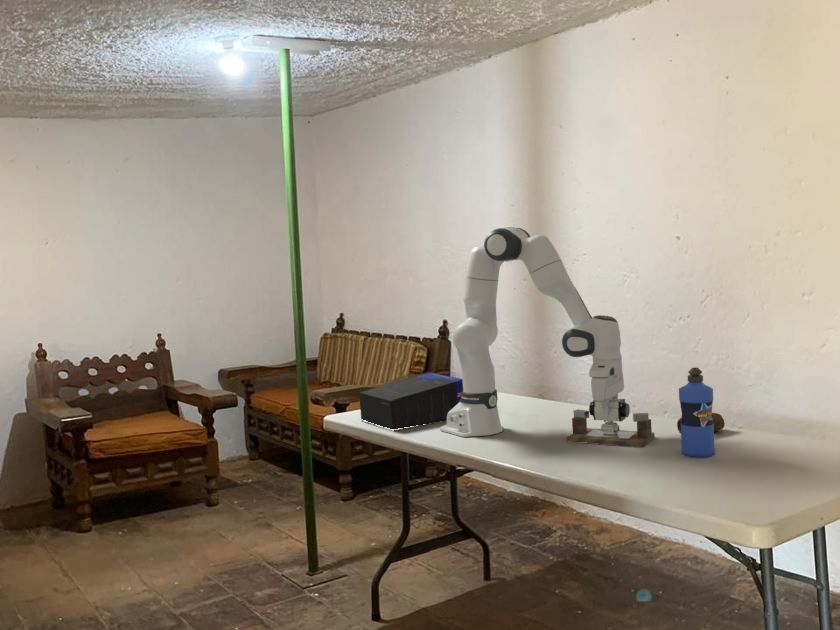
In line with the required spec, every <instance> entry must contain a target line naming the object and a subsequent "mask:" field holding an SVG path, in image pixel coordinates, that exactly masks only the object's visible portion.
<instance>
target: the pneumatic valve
mask: <svg viewBox="0 0 840 630" xmlns="http://www.w3.org/2000/svg"><path fill="white" fill-rule="evenodd" d="M608 405H609V407H610V412H609V413H608V414H606V413H603V408H602V405H601V402H595V401H594V400H592V401H591V402H589V407H588V408H589V410H588V411H589V416H592V417H593V420H594V421H603V422H604V423H603V424H601V427H600V429H601V431H602V432H603V434H606V435H615V434H616V433H618V432H619V430H620V426H619V424H618V422H620V423H621V422H622V421H624V420H626V418H628V417H630V411H631V407H630V405H629V403H627V401H626V399H624V398H618V399H612V398H610V399H609V402H608Z"/></svg>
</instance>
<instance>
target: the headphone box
mask: <svg viewBox="0 0 840 630" xmlns="http://www.w3.org/2000/svg"><path fill="white" fill-rule="evenodd" d="M461 392H463V380H462V378H459V377H454V376H450V375H449V376H448V375H444V374H438V373H433V372H428V373H425V374H424V373H423V374H421V375H418V376H414V377H410V378H406V379H402V380H400V381H396V382H392V383H388V384H386V385H381V386H379V387H373V388H371V389H366V390H364V391H359V393H358V394H359V395H358V397H359V408H360V420H361V419H363V420H366V421H368V422H371V423H374V424H377V425H380V426H383V427H387V428H390V429H398V428H404V427H410V426H416V425H423V424H427V425H430V424H429V423H432V424H435V423H434V422H437V423H441V422H440V421H442V422H445V421H446V422H447V414H448V412H449V411H450V410H451V409H453V408H454V407H455V406H456V405H457V404H458V403H459V402H460V398H461V396H459V397H458V395H460V394H458V393H461ZM423 426H424V425H423Z"/></svg>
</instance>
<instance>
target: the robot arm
mask: <svg viewBox="0 0 840 630" xmlns="http://www.w3.org/2000/svg"><path fill="white" fill-rule="evenodd" d="M518 260H520V261H522V263H523V264H524V265H525V267H526V269H527V271H528V274H529V276H530V278H531V281H532V282H533V284H534V285H535V287H536V289H537V290H538V291H539V292H540V294H543V295H545V296H548V297H551V298H553V299H554V300H556V301H558V302H559V303H560V304H561V305H562V307H563V308H564V309H565V312H566V313H567V315H568V317H569V319H570V321H571V323H572V324H573V327H572V328H570V329H568V330H566V331H565V332H564V334H563V335H562V339H561V346H562V349H563V351H564V352H565V354H567V355H568V356H570V357H573V358H582V357H586V356H592V365H591V367H590V369H589V371H588V374H589V378H591V380H590V385H591V386H590V387H591V395H592V399H593V400H594V401H595V402H601V405H602V408H603V413H606V414H608V413H609V412H610V407H609V405H608V402H609V399H610V398H612V399H619V393H621V392H623V391H624V389H625V381H624V374H623V373H624V372H623V361H622V360H623V358H622V354H621V344H622V342H621V339H622V338H621V331H620V330H621V329H620V326H619V323H618V320H617V319H616V318H614V317H613V316H609V315H598V314H597V315H594V316H592V315H591V312H589V310H588V308H587V306H586V304H585V302H584V300H583V299H582V296H581V295H580V293H579V292H578V289H577V288H576V287H575V285H574V283H573V281H572V280H571V278H570V276H569V274H568V271H567V269H566V267H565V265H564V263H563V261H562V259H561V256H560V255H559V253H558V251H557V250H556V248H555V246H554V245H553V243H552V242H551V241H550V239H549V238H548V237H547V236H546V235H544V234H536V235H535V234H534V235H532V236H531V235H530V233H529V232H528V231H526V230H524V229H523V228H520V227H513V226H512V227H511V226H508V227H507V226H506V227H501V228H500V227H499V228H496V229H493V230H491V231H490V232H488V234H487V235H486V237H485V239H484V242H483V244H479V245H476V246H475V247H473V248H472V249H471V251H470V254H469V256H468V261H467V267H466V270H465V280H464V289H463V302H464V309H465V321H462V322H461V323H460V324H459V325H457V327H456V328H455V330H454V332H453V335H452V343H453V345H454V346H455V348H456V352H457V355H458V359H459V363H460V368H461V379H462V380H463V392H461V393H458V394H460V395H458V397H459V396H461V398H460V402H459V403H458V404H457V405H456V406H455V407H454V408H453V409H451V410H450V411H449V412H448V414H447V421H446V424H444V425H442V426H440V428H439V431H440V432H441V431H442V432H444V433H448V434H452V435H455V436H459V437H463V438H467V437H482V436H483V437H484V436H491V435H492V436H493V435H496V434H500V433H502V432H503V426H502V423H501V419H500V413H499V409H498V391H497V389H496V378H495V377H496V374H495V366H494V364H493V362H492V358H491V354H490V350H489V346H491V345H492V344H493V343H494V342H495V341H496V338H497V337H498V333H499V329H498V325H497V324H498V323H497V321H498V319H497V297H498V287H499V276H500V269H501V266H502V264H503V263H505V262H507V263H508V262H512V261H518ZM593 400H592V401H593Z"/></svg>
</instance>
